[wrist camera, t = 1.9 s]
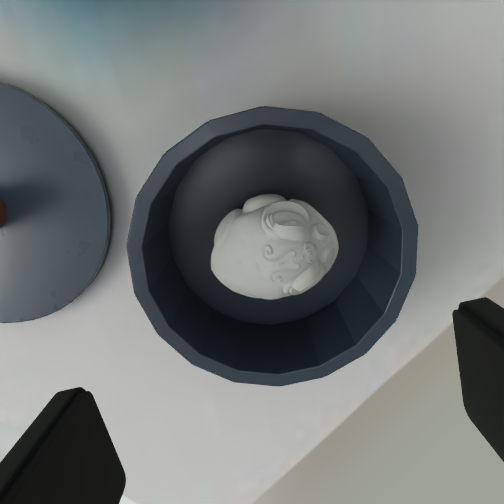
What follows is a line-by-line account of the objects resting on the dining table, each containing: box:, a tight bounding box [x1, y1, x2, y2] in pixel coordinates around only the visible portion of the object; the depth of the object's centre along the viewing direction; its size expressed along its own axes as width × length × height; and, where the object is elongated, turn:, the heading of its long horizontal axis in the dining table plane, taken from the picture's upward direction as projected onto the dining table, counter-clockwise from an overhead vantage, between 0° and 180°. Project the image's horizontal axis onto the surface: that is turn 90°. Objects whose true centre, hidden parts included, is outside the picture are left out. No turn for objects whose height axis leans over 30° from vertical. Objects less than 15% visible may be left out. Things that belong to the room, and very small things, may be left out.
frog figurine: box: [211, 194, 339, 300], centre depth 22 cm, size 6×7×7 cm
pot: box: [127, 106, 418, 386], centre depth 23 cm, size 15×15×6 cm
